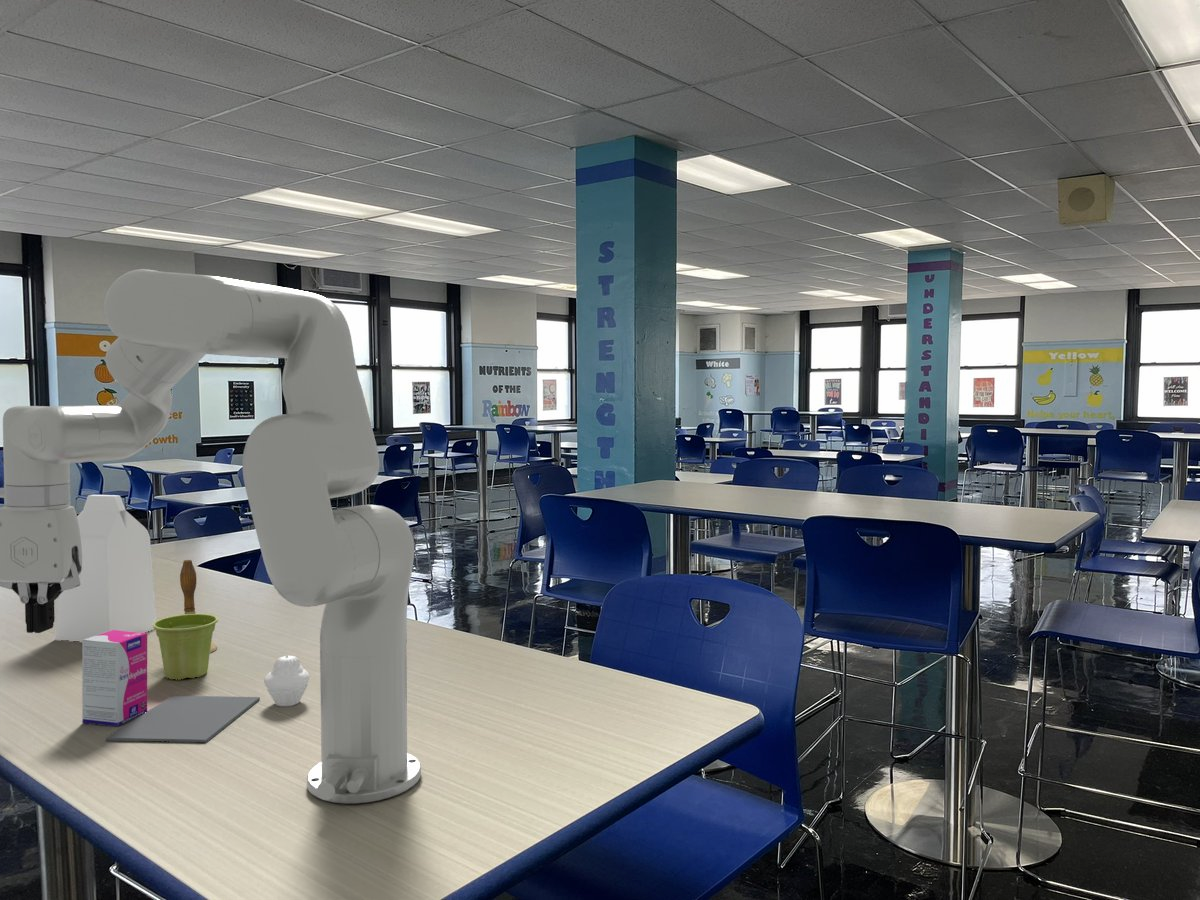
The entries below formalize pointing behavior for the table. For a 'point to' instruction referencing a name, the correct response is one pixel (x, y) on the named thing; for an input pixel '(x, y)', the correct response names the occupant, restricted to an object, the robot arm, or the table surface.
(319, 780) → the robot arm
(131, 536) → the milk
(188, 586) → the hand bell
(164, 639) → the plant pot
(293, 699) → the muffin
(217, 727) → the mat
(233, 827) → the table surface
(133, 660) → the supplement box
